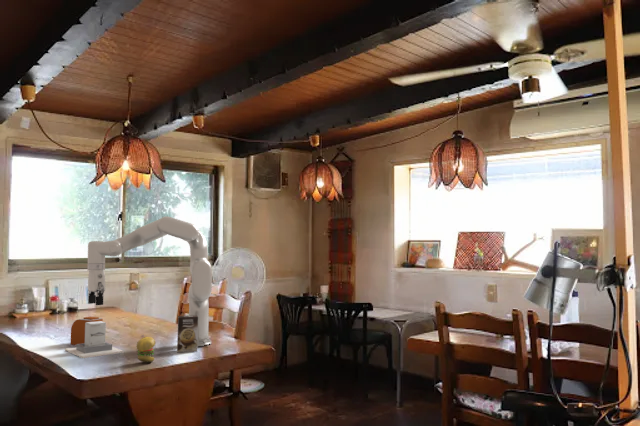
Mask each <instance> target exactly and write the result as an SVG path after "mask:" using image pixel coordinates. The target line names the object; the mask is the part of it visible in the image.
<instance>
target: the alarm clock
mask: <svg viewBox="0 0 640 426" xmlns="http://www.w3.org/2000/svg"><path fill="white" fill-rule="evenodd" d="M103 319H104V318H102V317H99V316H85V317H83V318H79V319H76V320H74V321H73V323H72V325H71V328H70V345H72V346H76V344H82V343H85V323H86V322H97V321H102V322H104V320H103Z"/></svg>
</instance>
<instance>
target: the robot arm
mask: <svg viewBox="0 0 640 426" xmlns="http://www.w3.org/2000/svg"><path fill="white" fill-rule="evenodd" d="M167 235H168V236H172V237H175V238H176V239H177V238H178V239H180V240H182V241H185V242H186V243H187V244H188V246H189V253H190V255H189V256H190V263H189V271H190V273H191V283H190V285H189V287H188V303H189V304H188V305H189V306H188V310H189V311H188V316H194V315H197V316H198V342H197V347H205V346H204V345H207V346H210V345H211V344H212V340H211V338H210V337H209V315H210V314H209V313H210V311H209V310H210V309H209V307H210V305H209V298H210V297H211V294H212V287H213V286H212V285H213V283H212V282H213V276H212V275H213V270H212V265H211V263H210V261H209V257H208V255H209V254H208V253H209V252H208V251H209V250H208V242H207V240H206V237H205V235H204V234H203V233H202V232H201V230H199V228H198V226H197V225H195V224H193V223H191V222H187V221H184V220H180V219H177V218H175V217H171V216H162V217H161V218H158V219H157V220H154V221H152V222H149V223H147V224H145V225H142V226H140V227H138V228H136V229H135V230H133V231H132V232H130V233H128V234H125V235H123V236H121V237H118V238H117V239H114V240H108V241H102V240H100V241H99V240H91V241H89V242H88V244H87V271H88V277H87V291H88V293H87V295H88V300H87V301H88V302H87V303H88V304H95V305H96V306H102V305H104V296H105V295H104V293H105V291H106V274H105V271H106V257H118V256H119V255H122V254H124V253H126V252H129V251H130V250H133V249H135V248H139V247H141V246H145V245H147V244H149V243H151V242H154V241H156V240H159V239H160V238H163V237H165V236H167ZM209 344H210V345H209Z"/></svg>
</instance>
